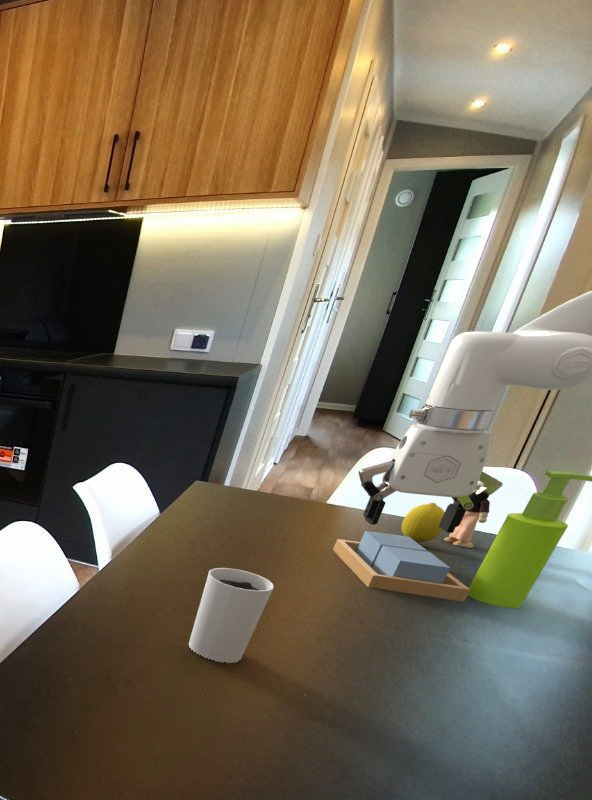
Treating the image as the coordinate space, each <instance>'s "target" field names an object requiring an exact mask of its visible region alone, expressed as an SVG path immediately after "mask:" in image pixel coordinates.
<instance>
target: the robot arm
mask: <svg viewBox="0 0 592 800" xmlns="http://www.w3.org/2000/svg"><path fill="white" fill-rule="evenodd" d="M591 380H592V290H590V291H587V292H585V293H582V294H580V295H578V296H576V297H574V298H571V299H569V300H567V301H566V302H564V303H561V304H559V305H558V306H556V307H555V308H552V309H551V310H549V311H547V312H545V313H543V314H541V315H540V316H538V317H537V318H535V319H533V320H531V321H530V322H528V323H525V324H524V325H523V326H520V327H519V328H518V329H516V330H514V331H513V332H505V331H504V332H503V331H466V332H461V333H459V334H457V335H456V336H455V337H454V338H452V340H451V341H450V344H449V346H448V348H447V350H446V352H445V355H444V358H443V360H442V362H441V365H440V368H439V370H438V372H437V374H436V377H435V380H434V382H433V384H432V387H431V389H430V391H429V394H428V397H427V398H426V402H425V403H424V404H422V406H421V407H420V408H418V409H414V408H413V409H411V410H410V412H409V414H408V418H409V419H415V420H416V424H411V426H410V427H409V428H408V429H407V431H406V432H405V433H404V435H403V437H402V438H401V439H400V441H399V443H398V444H397V446H396V447H395V450H394V451H393V453H392V455H391V458H390V459H389V460H388V461H386V462H382V463H379V464H374V465H371V466H368V467H364V468H361V469H359V470H358V476H359V480H360V486H361V487H362V488H363V490H364V492H366V493H367V495H368V496H369V499H368V501H367V504H366V506H365V509H364V511H363V515H362V516H363V517H364V520H365V521H366V522H367V523H368V524H370V525H373V526H375V525H377V524H378V523H379V520H380V518H381V515H382V513H383V511H384V508H385V506H386V501H384V499H385V498H387V497H389V496H390V495H392V494H394V493H396V492H398V493H404V494H412V495H422V496H432V497H433V496H434V497H442V498H443V497H444V498H451V499H452V501H453V502H452V503H449V504H448V505H447V507H446V508H445V510H444V512H445V513H444V515H443V517H442V519H441V522H440V524H439V527H440V528H441V529H443V530H442V531H444V532H446V533H448V534H450V533H453V532H454V530H455V528H456V527H458V526H459V525H460V523H461V521H462V519H463V517H464V515H465V512H466V510H467V509H471V508H472V507H473V505H475V504H478V503H480V502H482V501H484V500H486V499H489V497H490V496H491V495H493V494H494V493H496V492H497V491H498V490H499V489H500V488H502V486H503V482H502V481H501V480H498V479H497V478H495V477H493V476H492V475H489V474H488V473H486V472H484V471H483V470H484V468H485V464H486V461H487V458H488V454H489V450H490V446H491V440H492V433H493V432H491V431H487V430H486V429H487V427H488V425H489V422H490V420H491V418H492V416H493V414H494V412H495V410H496V407H497V405H498V403H499V401H500V398H501V397H502V394H503V393H504V390H505V388H506V386H509V385H510V386H519V387H526V388H532V389H538V390H543V391H545V390H546V391H559V390H565V389H570V388H574V387H578V386H580V385H583V384H585V383H587V382H589V381H591ZM381 474H383V475H382V482H381V483H380V484H378V485H375V484H374V480H373V478H374V476H377V475H381ZM478 481H480V482H482V483H483V486H482V487H481V488H480V489H479V490H477V491H475V492H474V490H475V488H476V486H477V484H478Z"/></svg>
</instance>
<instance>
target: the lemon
mask: <svg viewBox="0 0 592 800" xmlns="http://www.w3.org/2000/svg"><path fill="white" fill-rule="evenodd" d="M444 513H445V510H444V509H443V508H442V507H440V506H439V505H437V503H436V502H429V503H424V504H420V505H417V506H415V507H413V508H412V509H411V510H410V511H408V513H407V514H406V515H405V516H404V518H403V519H402V522H401V528H400V529H401V532H402V536H408V537H410V538H411V539H413V540H414V541H415V542H417V543H418V544H421V543H426V542H430V541H432V540H434V539H435V538H437V537H438V536H440V534H441V533H442V532H443V531H444V530H443V529H441V528H440V527H439V524H440V522H441V519H442V517H443V515H444Z"/></svg>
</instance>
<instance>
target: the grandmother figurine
mask: <svg viewBox="0 0 592 800" xmlns="http://www.w3.org/2000/svg"><path fill="white" fill-rule="evenodd" d="M482 486H483V483H482V482H480V481H478V484H477V486H476V488H475V490H474V491H473V492H475V491H477V490H479V489H480V488H481V487H482ZM490 505H491V501H490V500H489V498H487V499H486V500H484V501H482V502H480V503H478V504H475V505H473V507H472V508H471V509H467V510H466V512H465V515H464V517H463V519H462V521H461V523H460V525H459V526H458V527H456V528H455V530H454V532H453V533H449V536H447V537H444V538H443V541H444V542H447V543H452V545H453V546H457V547H461V548H468V549H473V548H474V544H473V542H471V540H472V539H473V535H474V533H475V529H476V527H477V523H481V524H484V523H486V522H487V521H488V520H487V519H488V516H489V513H490Z"/></svg>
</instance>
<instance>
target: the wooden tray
mask: <svg viewBox="0 0 592 800" xmlns="http://www.w3.org/2000/svg"><path fill="white" fill-rule="evenodd" d="M360 542H361V541H355V540H347V539H340V538H337V539H336V541H335V544H334V545H333V549H332V551H333V552H334V553H335V554H336V555H337V556H338V557H339V558H340V559H341V560H342V561H343V562H344V564H346V565H347V567H348V568H349V569H350V570H351V571H352V572H353V573H354V574H355V575H356V576H357V578H359V580H360V581H362V583H363V584H364V585H366V587H367V588H371V589H378V590H385V591H391V592H396V593H403V594H410V595H415V596H416V595H417V596H422V597H429V598H436V599H441V600H442V599H443V600H449V601H455V602H460V603H465V602H466V599H467V598H468V594H469V592H470V589H469V586H467V585H465V584H464V583H463V582H462V581H460V580H459V579H457V578H456V577H455V576H454V575H453V574H451V573H449V572H448V574H447V576H446V578H445V579H444V581H443V583H442V584H439V583H433V582H426V581H419V580H413V579H406V578H399V577H393V576H386V575H379V574H377V573H376V572H375V571H374V570H373V569H372V568H371V567H370V566H369V565H368V564H367V563H366V562H365V561H364V560H363V559H362V558H361V557H360V556H359V555H358V554H357V553H356V551H357V548H358V546H359V544H360Z"/></svg>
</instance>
